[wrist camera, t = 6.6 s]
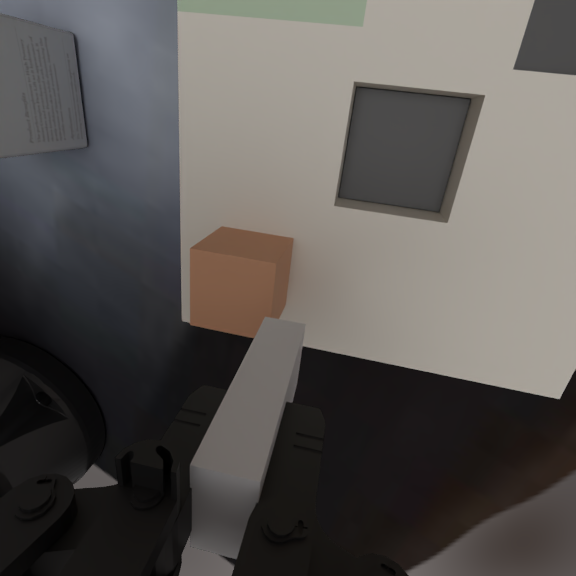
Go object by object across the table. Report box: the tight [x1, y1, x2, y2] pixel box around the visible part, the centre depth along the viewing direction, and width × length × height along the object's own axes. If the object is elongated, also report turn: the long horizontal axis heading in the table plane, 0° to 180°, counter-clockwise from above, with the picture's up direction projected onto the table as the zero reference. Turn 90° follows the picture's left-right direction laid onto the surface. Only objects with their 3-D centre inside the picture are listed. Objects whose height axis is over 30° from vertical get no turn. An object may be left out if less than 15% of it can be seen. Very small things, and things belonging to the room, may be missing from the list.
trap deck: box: [177, 0, 576, 399], centre depth 18 cm, size 22×22×4 cm
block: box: [190, 226, 294, 338], centre depth 19 cm, size 4×4×4 cm
